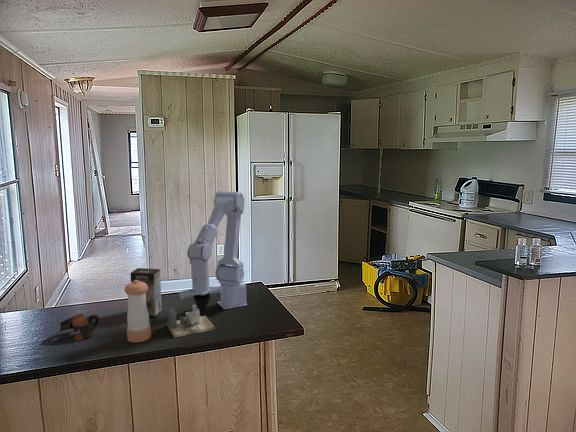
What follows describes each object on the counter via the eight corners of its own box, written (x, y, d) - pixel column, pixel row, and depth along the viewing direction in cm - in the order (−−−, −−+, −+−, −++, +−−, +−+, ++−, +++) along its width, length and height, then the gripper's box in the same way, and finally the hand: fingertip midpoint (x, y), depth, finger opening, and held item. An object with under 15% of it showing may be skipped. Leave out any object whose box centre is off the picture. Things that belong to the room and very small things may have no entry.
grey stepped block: (195, 317, 153) (195, 304, 153) (201, 324, 147) (201, 311, 146) (178, 320, 151) (178, 307, 150) (183, 328, 144) (183, 314, 144)
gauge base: (205, 318, 156) (205, 314, 156) (214, 329, 146) (214, 325, 146) (167, 325, 150) (166, 321, 150) (174, 337, 140) (174, 333, 140)
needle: (186, 324, 146) (186, 319, 146) (190, 328, 143) (189, 323, 143) (183, 324, 146) (183, 320, 146) (186, 329, 142) (186, 324, 142)
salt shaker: (128, 334, 143) (124, 277, 140) (151, 331, 145) (148, 276, 142) (126, 343, 136) (122, 284, 133) (150, 340, 138) (147, 282, 135)
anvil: (173, 322, 150) (172, 308, 149) (176, 327, 145) (176, 313, 145) (168, 322, 150) (168, 309, 149) (172, 328, 145) (171, 314, 144)
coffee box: (131, 315, 159) (128, 272, 157) (139, 308, 165) (136, 267, 163) (155, 316, 158) (153, 273, 156) (162, 309, 165) (160, 268, 162)
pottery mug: (67, 347, 135) (56, 323, 136) (67, 348, 143) (57, 326, 144) (106, 328, 142) (95, 305, 142) (103, 330, 150) (93, 309, 150)
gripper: (182, 283, 143) (183, 322, 145) (224, 277, 149) (225, 315, 151) (177, 277, 149) (179, 315, 151) (218, 272, 155) (219, 308, 157)
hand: (201, 314), depth 152 cm, fingers closed
